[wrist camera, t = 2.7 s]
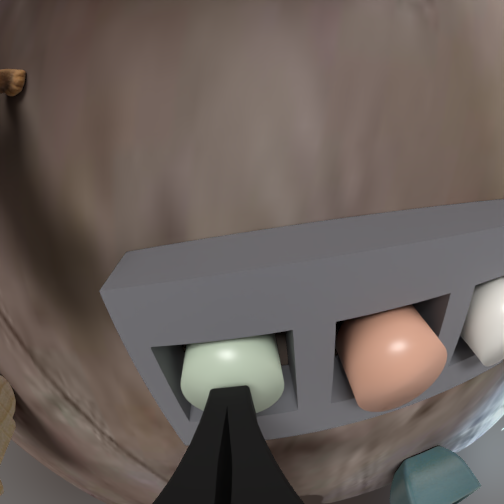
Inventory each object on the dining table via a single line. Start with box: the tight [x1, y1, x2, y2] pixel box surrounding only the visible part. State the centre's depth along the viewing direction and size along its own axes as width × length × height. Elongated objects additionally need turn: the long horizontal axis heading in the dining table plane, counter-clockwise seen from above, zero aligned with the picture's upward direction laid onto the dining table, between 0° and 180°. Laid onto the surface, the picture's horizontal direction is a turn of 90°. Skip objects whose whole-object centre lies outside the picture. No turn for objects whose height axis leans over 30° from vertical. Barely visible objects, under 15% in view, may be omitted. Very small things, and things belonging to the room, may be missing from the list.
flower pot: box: [390, 446, 481, 504], centre depth 21 cm, size 9×9×9 cm
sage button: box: [181, 333, 284, 413], centre depth 12 cm, size 4×4×3 cm
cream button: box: [460, 276, 504, 366], centre depth 11 cm, size 4×4×3 cm
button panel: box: [99, 199, 504, 445], centre depth 12 cm, size 20×10×3 cm, turn 98°
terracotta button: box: [336, 304, 447, 412], centre depth 11 cm, size 4×4×3 cm
